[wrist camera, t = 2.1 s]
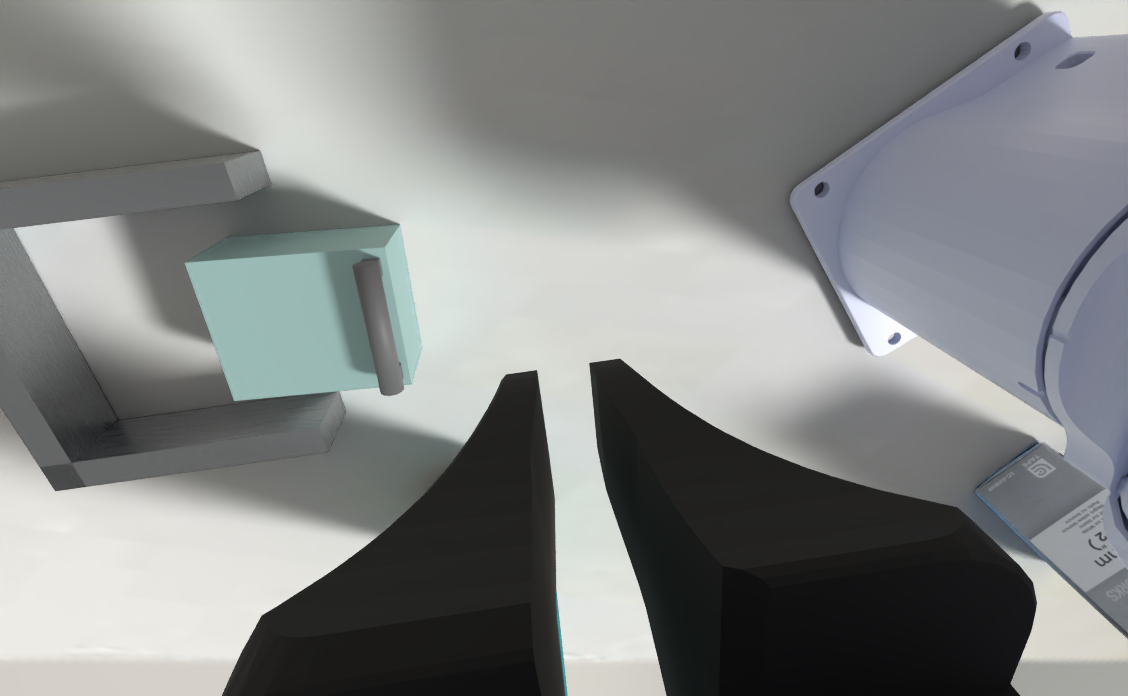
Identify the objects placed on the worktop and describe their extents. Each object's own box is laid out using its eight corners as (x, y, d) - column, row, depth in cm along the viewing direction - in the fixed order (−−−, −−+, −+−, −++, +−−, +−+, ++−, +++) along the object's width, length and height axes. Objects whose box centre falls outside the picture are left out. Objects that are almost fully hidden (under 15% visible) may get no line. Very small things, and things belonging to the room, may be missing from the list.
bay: (259, 150, 17) (224, 162, 15) (346, 412, 21) (327, 451, 19) (-47, 187, 17) (-131, 204, 15) (102, 446, 21) (55, 491, 19)
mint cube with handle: (401, 222, 19) (377, 257, 15) (423, 344, 21) (406, 401, 17) (230, 235, 18) (164, 275, 15) (269, 358, 20) (219, 419, 17)
